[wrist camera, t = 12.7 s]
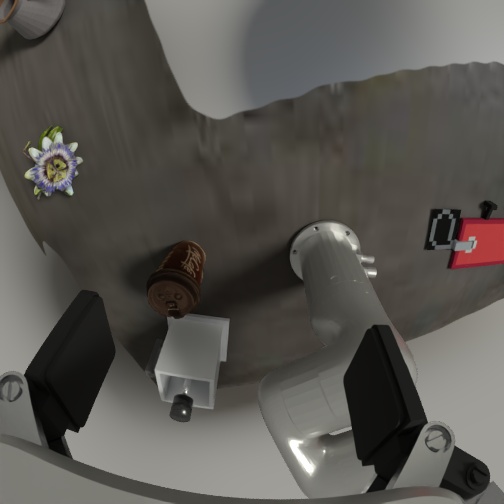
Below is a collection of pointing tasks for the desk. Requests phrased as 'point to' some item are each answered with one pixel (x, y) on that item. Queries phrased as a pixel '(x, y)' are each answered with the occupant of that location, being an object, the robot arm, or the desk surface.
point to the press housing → (190, 358)
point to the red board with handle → (469, 237)
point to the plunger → (182, 404)
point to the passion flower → (53, 163)
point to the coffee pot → (31, 15)
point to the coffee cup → (177, 281)
